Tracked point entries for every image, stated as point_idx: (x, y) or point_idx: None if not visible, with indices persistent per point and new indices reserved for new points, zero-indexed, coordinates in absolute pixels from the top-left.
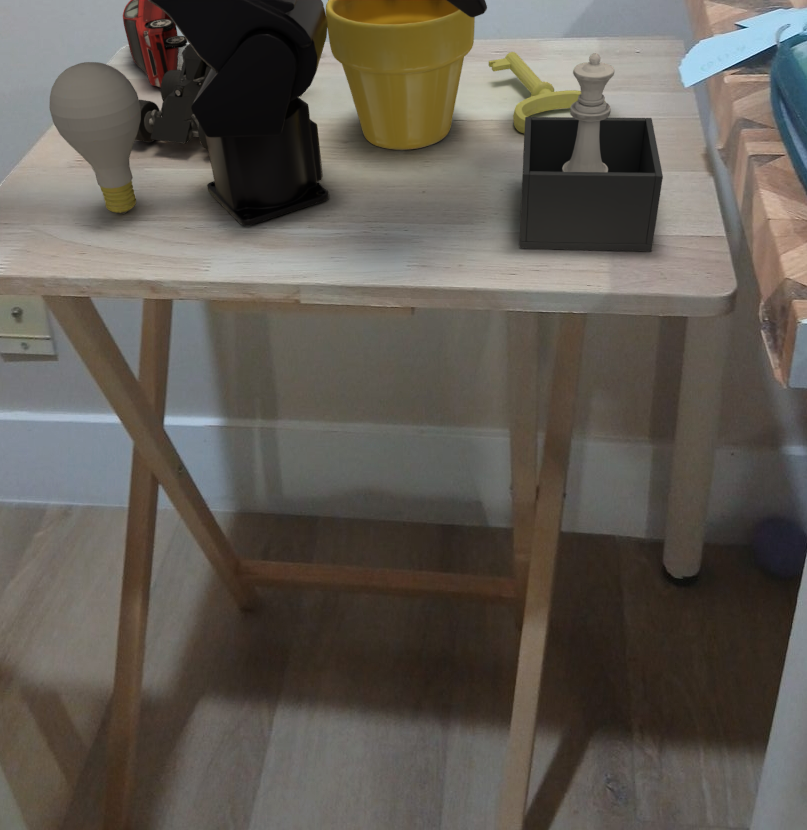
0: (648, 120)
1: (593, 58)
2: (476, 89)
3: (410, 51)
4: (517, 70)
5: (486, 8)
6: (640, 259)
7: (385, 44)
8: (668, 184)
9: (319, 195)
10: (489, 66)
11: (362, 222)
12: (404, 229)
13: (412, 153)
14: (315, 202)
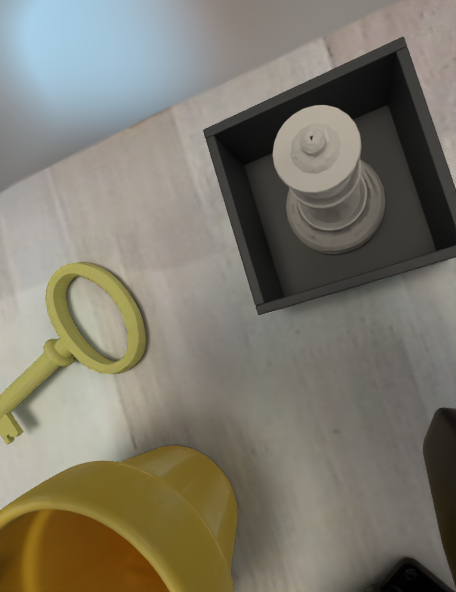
0: (213, 130)
1: (323, 139)
2: (49, 444)
3: (206, 564)
4: (18, 400)
5: (447, 408)
6: None
7: None
8: None
9: (420, 574)
10: (13, 440)
11: None
12: None
13: (236, 477)
14: (431, 574)
